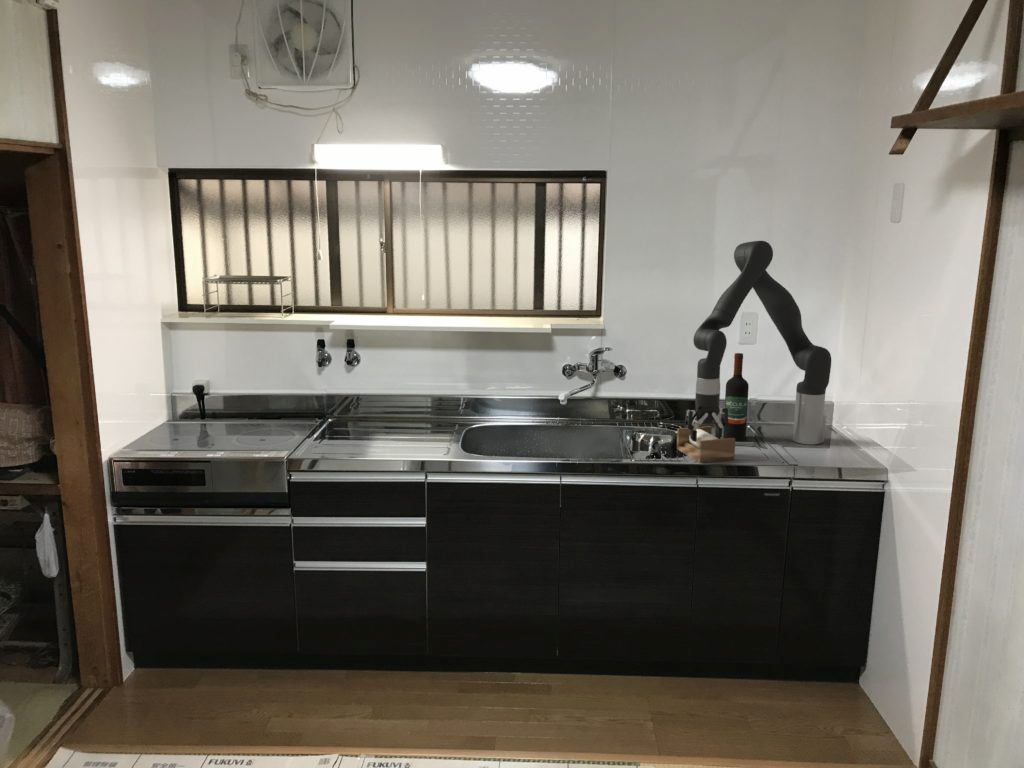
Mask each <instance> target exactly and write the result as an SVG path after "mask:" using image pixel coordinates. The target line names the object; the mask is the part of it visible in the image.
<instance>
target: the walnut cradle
mask: <svg viewBox="0 0 1024 768" xmlns="http://www.w3.org/2000/svg"><path fill="white" fill-rule="evenodd" d="M712 428H713V427H712V426H711V425H706V426H699V427H698V428H697V429H701V430H703V431H705V432H707V433H709V434H711V435H712ZM676 431H677V432H676V450H677V451H679V452H681V453H682V454H684V455H686V456H688V457H689V458H691V459H692V458H693V460H694V459H695V460H694V461H696V462H697V461H699V462H706V463H709V462H708V461H716V462H724V461H726V460H727V461H735V451H736V449H735V448H736V441H735V438H725V439H724V438H720V439H713V440H701V441H699V449H698V448H696V447H695V446H693V445H692V444H691V443H690V441H689V437H690V429H688V428H686V427H681V428H677V429H676ZM727 461H726V462H727ZM699 462H698V463H699Z"/></svg>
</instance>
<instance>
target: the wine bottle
mask: <svg viewBox="0 0 1024 768" xmlns="http://www.w3.org/2000/svg"><path fill="white" fill-rule="evenodd" d="M733 358H734V363H733V375H732V377H731V378H730V379H728V380H727V382H726V384H725V391H724V392H725V396H724V407H725V408H727V409H728V426H724V427H723V430H722V439H725V438H735V442H744V441H746V440H747V439H746V438H747V423H748V407H749V406H748V403H749V387H750V386H749V382H748V381H747V379H745V378H744V377H743V363H744V362H743V361H744V353H742V352H741V353H740V352H735V353H734V356H733Z"/></svg>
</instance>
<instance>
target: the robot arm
mask: <svg viewBox="0 0 1024 768" xmlns="http://www.w3.org/2000/svg"><path fill="white" fill-rule="evenodd" d="M773 257H774V250H773V246H772V245H771V243H769V242H767V241H765V240H753V241H747V242H743V243H740V244H739V245H737V246H736V247H735V249H734V252H733V259H734V263H735V265H736V267H737V269H739V271H740V274H739V275H738V276H737V278H736V279H734V281H733V282H732V283H731V285H729V287H727V288H726V289H725V291H724V292H723V293H722V294H721V296H720V297H719V298H718V300H717V302H716V304H715V305H714V307H713V310H712V311H711V313H710V315H708V317H707V318H706V319H705V320H704V321H703V322H702V323H701V324H700V325H699V326H698V328H697V329H696V331H695V333H694V335H693V339H692V340H693V345H694V347H695V348H696V349H697V350H698V351H704V352H707V355H706V357H704V358H701V359H699V360H698V362H697V368H696V369H697V371H696V374H697V375H696V381H695V382H696V383H695V397H694V398H695V399H694V400H695V403H694V405H695V408H694V409H691V410H690V409H688V408H687V409H686V410H685V417H684V428H688V429H690V439H692V441H694V442H696V441H697V431H696V429H697V428H698V427H701V426H702V423H704V424H706V423H713V424H714V425H715V435H714V436H715V437H717V438H718V439H722V438H723V429H724V426H728V409H727V408H725V406H721V407H720V400H721V364H722V361H723V358H724V355H725V351H726V349H727V345H728V344H727V336H726V334H725V333H724V331H721V329H725V328H729V327H730V326H731V325H732V324H733V321H734V319H735V318H736V316H737V314H738V311H739V310H740V308H741V307H742V304H743V302H744V301H745V299H746V298H747V296H748V294H749V293H750V292H751V290H752V289H753V291H754V292H755V294H756V295H757V297H758V298H759V300H760V302H761V304H762V305H763V307H764V309H765V311H766V313H767V315H768V316H769V318H770V319H771V321H772V322H773V324H774V326H775V327H776V329H777V330H778V333H779V334H780V336H781V337H782V339H783V341H784V342H785V345H786V346H787V348H788V351H789V353H790V356H791V358H792V360H793V362H794V364H795V365H796V367H797V368H798V369H800V370H802V371H803V372H804V378H803V380H802V381H799V382H798V383H797V385H796V391H795V406H794V418H793V420H794V421H793V435H792V440H793V442H795V443H799V444H803V445H819V444H822V443H825V437H826V425H827V424H826V423H827V415H826V414H825V402H826V401H825V400H826V392H827V391H826V390H827V388H828V385H829V384H830V383H829V382H830V377H831V369H832V355H831V352H830V351H829V350H828V349H827V348H825V347H823V346H820V345H817V344H816V345H815V344H814V343H812V341H811V340H810V339H809V337H808V336H807V334H806V332H805V331H804V328H803V324H802V323H803V321H802V314H801V310H800V307H799V305H798V304H797V302H796V300H795V299H794V297H793V295H792V294H791V293H790V291H789V290H788V289H786V287H784V286H783V285H782V284H780V283H779V282H778V281H777V280H775V279H774V278H773V277H772V276H771V275H770V274H769V272H768V271H767V268H769V266H770V265H771V262H772V260H773V259H774V258H773ZM719 414H720V418H719V417H718V415H719ZM694 416H695V417H694ZM693 417H694V418H693Z"/></svg>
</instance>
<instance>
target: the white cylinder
mask: <svg viewBox="0 0 1024 768" xmlns="http://www.w3.org/2000/svg"><path fill="white" fill-rule="evenodd" d="M696 431H697V441H696V442H694V441H692V439H690V437H689V441H690V443H691V444H692V445H693V446H695V447H696V448H698V449H699V441H701V440H713V439H718V438H717V437H715V435H713V434H712V433H711V434H709V433H707V432H705V431H703V430H701V429H696Z"/></svg>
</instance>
